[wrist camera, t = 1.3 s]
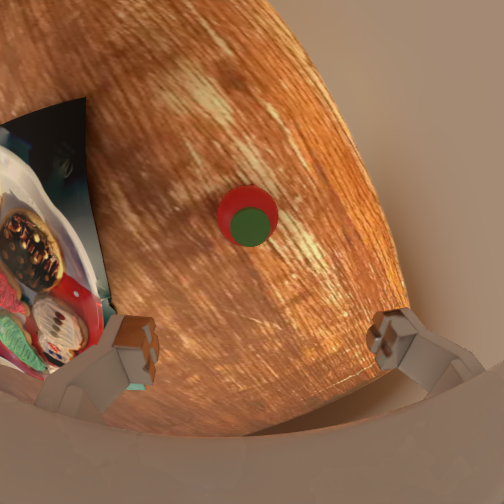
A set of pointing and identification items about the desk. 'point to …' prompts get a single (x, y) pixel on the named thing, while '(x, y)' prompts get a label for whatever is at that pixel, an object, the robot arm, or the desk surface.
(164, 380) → the desk surface
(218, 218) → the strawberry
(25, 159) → the cookie photo sheet
